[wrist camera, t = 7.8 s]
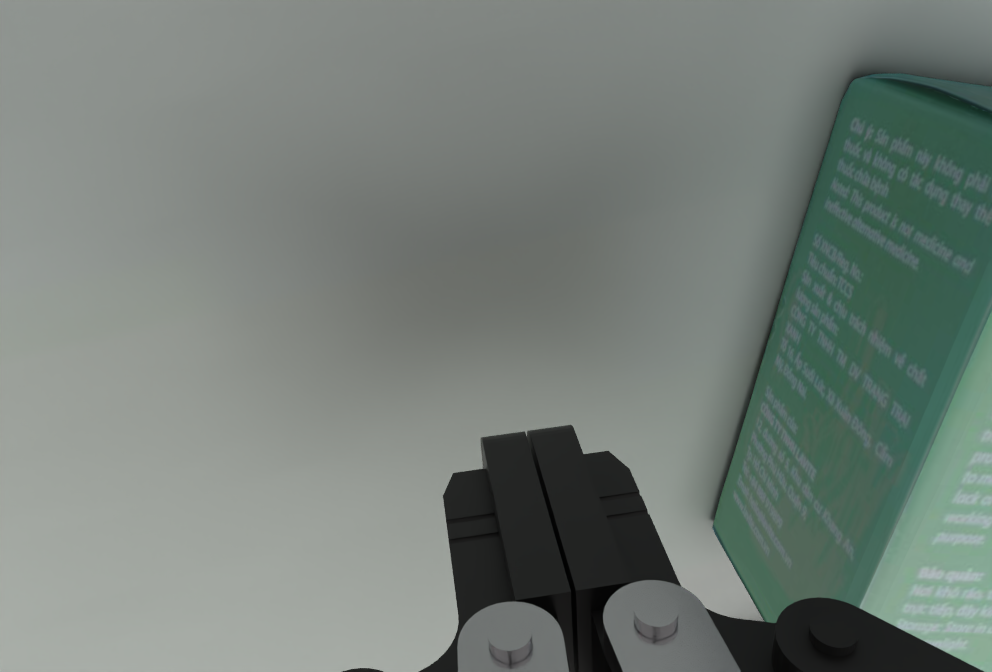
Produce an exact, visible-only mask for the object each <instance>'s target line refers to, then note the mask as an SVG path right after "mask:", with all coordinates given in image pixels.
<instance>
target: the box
mask: <svg viewBox="0 0 992 672" xmlns="http://www.w3.org/2000/svg"><path fill="white" fill-rule="evenodd" d="M712 528H713V530H714V532H715V535H716V536H717V538H718V540H719V542H720V544H721V545H722V547H723V549H724V551H725V553H726V554H727V556H728V558H729V560H730V561H731V563H732V565H733V567H734V568H735V570H736V572H737V574H738V576H739V577H740V579H741V581H742V583H743V584H744V586H745V588H746V590H747V591H748V593H749V595H750V597H751V599H752V600H753V602H754V604H755V606H756V607H757V609H758V611H759V613H760V614H761V616H762V618H763V620H764V621H765V622H770V623H776V622H777V619H778V617H779V615H780V614H781V612H782V611H783V610H784V609H785V608H786V607H787V606H789V605H790V604H792V603H794V602H796V601H799V600H802V599H807V598H817V597H821V598H831V599H836V600H840V601H843V602H847V603H849V604H852V605H854V606H856V607H858V608H860V609H862V610H864V611H866V612H868V613H870V614H872V615H874V616H876V617H878V618H880V619H882V620H884V621H886V622H888V623H890V624H892V625H894V626H896V627H898V628H900V629H901V630H903V631H905V632H907V633H909V634H911V635H913V636H915V637H917V638H919V639H921V640H923V641H925V642H927V643H929V644H931V645H933V646H935V647H937V648H939V649H941V650H943V651H945V652H947V653H949V654H951V655H953V656H955V657H957V658H959V659H961V660H963V661H964V662H966V663H968V664H970V665H972V666H974V667H976V668H978V669H980V670H982V671H984V672H992V87H990V86H983V85H975V84H968V83H961V82H955V81H948V80H941V79H934V78H928V77H921V76H915V75H908V74H888V73H883V74H872V75H868V76H864V77H860V78H856V79H854V80H853V82H852V83H851V84H850V86H849V88H848V90H847V92H846V94H845V95H844V97H843V99H842V101H841V104H840V108H839V111H838V114H837V117H836V121H835V124H834V127H833V130H832V133H831V136H830V140H829V143H828V146H827V149H826V152H825V156H824V159H823V162H822V165H821V168H820V171H819V175H818V178H817V181H816V184H815V187H814V191H813V194H812V197H811V200H810V203H809V207H808V210H807V213H806V216H805V219H804V222H803V226H802V229H801V232H800V235H799V239H798V242H797V245H796V248H795V252H794V255H793V258H792V261H791V265H790V268H789V271H788V275H787V278H786V281H785V285H784V288H783V292H782V295H781V298H780V302H779V305H778V308H777V312H776V315H775V318H774V322H773V325H772V329H771V332H770V335H769V339H768V342H767V346H766V349H765V353H764V356H763V359H762V363H761V366H760V370H759V373H758V377H757V380H756V383H755V387H754V390H753V394H752V397H751V400H750V403H749V407H748V410H747V413H746V417H745V420H744V423H743V426H742V430H741V433H740V436H739V439H738V443H737V446H736V449H735V452H734V456H733V459H732V462H731V465H730V468H729V471H728V475H727V478H726V481H725V484H724V487H723V490H722V494H721V497H720V500H719V504H718V508H717V512H716V516H715V519H714V523H713V527H712Z"/></svg>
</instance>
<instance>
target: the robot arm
mask: <svg viewBox="0 0 992 672" xmlns="http://www.w3.org/2000/svg"><path fill="white" fill-rule="evenodd" d="M481 450H482V461H483V469H479V470H472V471H465V472H458V473H453V475H452V477H451V480H450V482H449V484H448V486H447V488H446V491H445V493H444V495H443V499H444V507H445V514H446V522H447V530H448V538H449V545H450V553H451V561H452V569H453V576H454V584H455V592H456V599H457V607H458V615H459V624H458V630H457V633H456V636H455V639H454V640H453V642H452V644H451V646H450V647H449V648H448V650H447V651H446V652H445V653H444V654H443V655H442V656H441V657H440V658H439V659H438V660H437V661H436V662H434V663H433V664H431V665H430V666H428V667H427V668H425V669H423V670H421V671H419V672H984V671H982V670H980V669H978V668H976V667H974V666H972V665H970V664H968V663H966V662H964V661H963V660H961V659H959V658H957V657H955V656H953V655H951V654H949V653H947V652H945V651H943V650H941V649H939V648H937V647H935V646H933V645H931V644H929V643H927V642H925V641H923V640H921V639H919V638H917V637H915V636H913V635H911V634H909V633H907V632H905V631H903V630H901V629H900V628H898V627H896V626H894V625H892V624H890V623H888V622H886V621H884V620H882V619H880V618H878V617H876V616H874V615H872V614H870V613H868V612H866V611H864V610H862V609H860V608H858V607H856V606H854V605H852V604H849V603H847V602H843V601H840V600H836V599H831V598H821V597H817V598H807V599H802V600H799V601H796V602H794V603H792V604H790V605H789V606H787V607H786V608H785V609H784V610H783V611H782V612H781V614H780V615H779V617H778V619H777V622H776V623H770V622H761V621H752V620H743V619H736V618H730V617H727V616H723V615H720V614H717V613H715V612H712V611H710V610H708V609H706V608H705V607H704V605H703V604H702V602H701V601H700V600H699V599H698V598H697V597H696V596H695V595H694V594H692V593H691V592H690V591H688V590H686V589H685V588H683V587H681V585H680V583H679V581H678V579H677V577H676V574H675V572H674V570H673V567H672V565H671V563H670V561H669V558H668V556H667V554H666V551H665V549H664V547H663V545H662V542H661V540H660V538H659V535H658V533H657V531H656V529H655V526H654V524H653V522H652V519H651V517H650V515H649V514H648V512H647V508H646V506H645V503H644V501H643V499H642V497H641V496H640V494H639V490H638V487H637V485H636V483H635V481H634V478H633V476H632V474H631V471H630V469H629V468H628V467H627V466H625V465H624V464H623V463H622V462H621V461H619V460H618V459H617V458H616V457H615V456H614V455H612V454H611V453H610V452H609V451H604V452H597V453H590V454H583V452H582V449H581V447H580V444H579V441H578V439H577V436H576V433H575V431H574V428H573V426H572V425H567V426H559V427H552V428H545V429H538V430H531V431H528V432H527V436H526V433H525V432H518V433H511V434H503V435H496V436H489V437H482V438H481ZM343 672H383V671H380V670H375V669H370V668H358V669H351V670H347V671H343Z"/></svg>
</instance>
